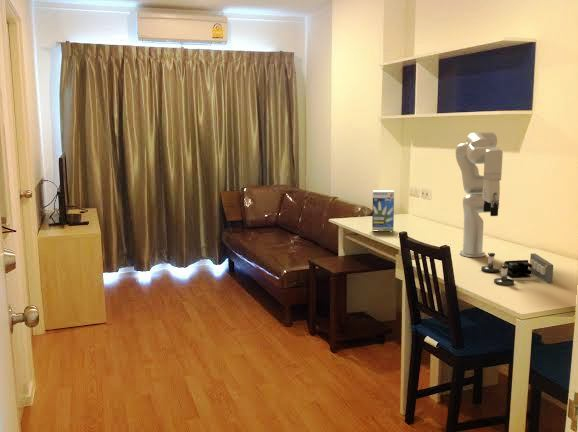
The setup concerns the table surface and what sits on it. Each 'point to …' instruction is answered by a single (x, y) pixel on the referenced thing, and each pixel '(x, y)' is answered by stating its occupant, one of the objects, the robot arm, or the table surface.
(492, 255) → the post left
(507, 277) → the view mat
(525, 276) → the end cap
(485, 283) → the table surface
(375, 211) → the string lights box
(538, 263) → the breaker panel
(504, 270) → the post right
